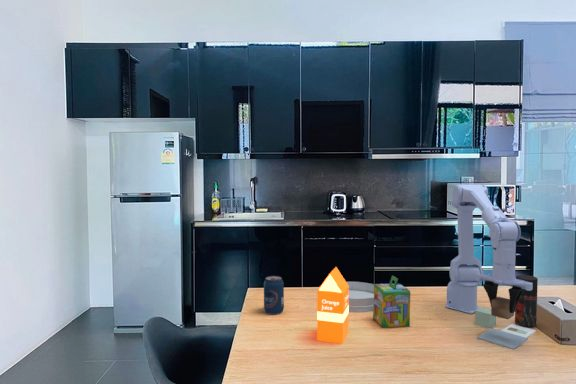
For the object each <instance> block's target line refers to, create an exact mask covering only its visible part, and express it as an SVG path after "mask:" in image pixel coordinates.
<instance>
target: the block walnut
mask: <svg viewBox="0 0 576 384" xmlns="http://www.w3.org/2000/svg"><path fill="white" fill-rule="evenodd" d="M490 308H491V309H490V310H491V315H493V316H496V318H501V319H505V320H509V319H511V318H513V317H515V312H514V313H510V298H506V297H502V296H497V297H496V298H494V299H492V302H491V304H490Z"/></svg>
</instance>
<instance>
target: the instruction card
mask: <svg viewBox="0 0 576 384" xmlns="http://www.w3.org/2000/svg"><path fill="white" fill-rule="evenodd" d="M500 331H504V332H507V333H511V334H514V335H518V336H522V337H525V338H528V337H530V336H532V335H533V334H534V333H536V332H537V330H536V329H533V328H526V327H522V326H519V325H516V324H515V323H512V324H511V323H510V324H509V325H507V326H506V327H505V328H503V329H501V330H500Z"/></svg>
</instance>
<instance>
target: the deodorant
mask: <svg viewBox="0 0 576 384" xmlns="http://www.w3.org/2000/svg"><path fill="white" fill-rule="evenodd" d="M515 278H516V279H519V280H523V281H526V282H531V283H533V290H531V291H527V290H526V289H524V291H523V293H522V295H521V296H520V298H519V300H518V303H517V306H516V309H515V312H514V325H517V326H521V327H525V328H529V329H533V328H536V327H537V324H536V321H538V320H537V318H538V314H537V313H538V312H537V311H538V284H539V283H538V282H539V281H538V277H536V276H533V275H527V274H518V275H515Z"/></svg>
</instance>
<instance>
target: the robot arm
mask: <svg viewBox="0 0 576 384" xmlns="http://www.w3.org/2000/svg"><path fill="white" fill-rule="evenodd" d="M488 190H489V189H488V187H487V186H486V185H485V184H484V183H481V184H459V183H457V184H456V185H455V186H454V187H453V190H452V207H453V208H455V209H456V212H457V241H458V242H457V243H458V245H457V246H458V255H457V256H455V257H454V258H453V259H452V260H450V266H449V267H450V268H449V278H450V279H449V280H450V281H449V282H448V284H447V287H446V305H445V308H448V309H452V310H455V311H459V312H463V313H467V314H469V315H470V314H471V315H472V314H473V313H475V311H476V310H478V309H480V308H482V307H481V306H478V286H480V283H481V282H484V283H483V285H482V287H483V289H484V290H485V292H486V295H487V296H488V300H489V303H490V304H489V305H491V302H492V299H494V298H496V297H498V290H499V285H502V286H507V287H510V288H508V294H509V295H508V296H509V299H510V313H514V314H515V309H516V306H517V303H518V300H519V298H520V296H521V295H522V293H523V291H524V289H526V290H527V291H531V290H533V283H531V282H526V281H523V280H519V279H516V251H517V250H516V249H517V247H516V246H517V242H518V241H519V240H520V238H521V234H522V232H521V230H522V229H521V227H520V224H519V223H518V222H517V221H516V220H512V219H509V218H508V216H506V215H505V213H504V212H503V211H502V209H501V208H500V207H499V206H496V205H493V204H492V202H491V200H490V198H489V191H488ZM477 208H478V209H479V211H481V219H482V220H483V222H484V223H485V224H486V226H487V227H488V229H489V230H488V232H489V237H490V244H491V247H492V274H490V273H489V274H487V273H484V271H483V267H482V262H481V260H479V259H478V258H477V257H475V253H474V252H475V249H474V248H475V247H474V242H475V241H474V224H473V223H474V220H473V219H474V216H473V213H474V211H475V209H477Z"/></svg>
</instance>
